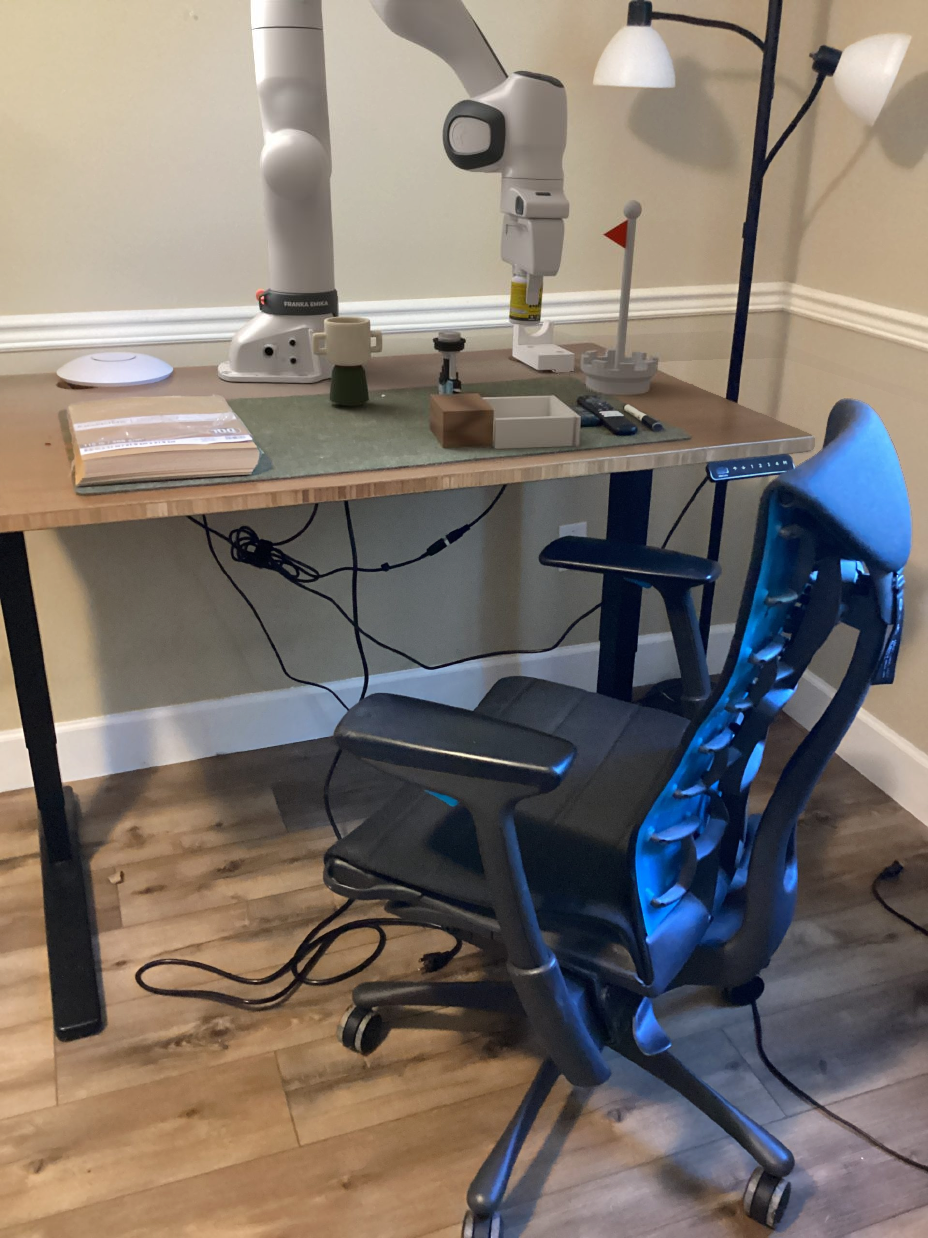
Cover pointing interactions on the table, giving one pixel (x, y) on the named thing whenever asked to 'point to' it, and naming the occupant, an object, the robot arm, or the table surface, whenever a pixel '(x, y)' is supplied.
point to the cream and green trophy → (348, 356)
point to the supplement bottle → (518, 307)
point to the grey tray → (533, 422)
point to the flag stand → (621, 329)
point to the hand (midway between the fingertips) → (525, 300)
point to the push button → (449, 360)
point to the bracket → (541, 349)
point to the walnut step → (461, 420)
